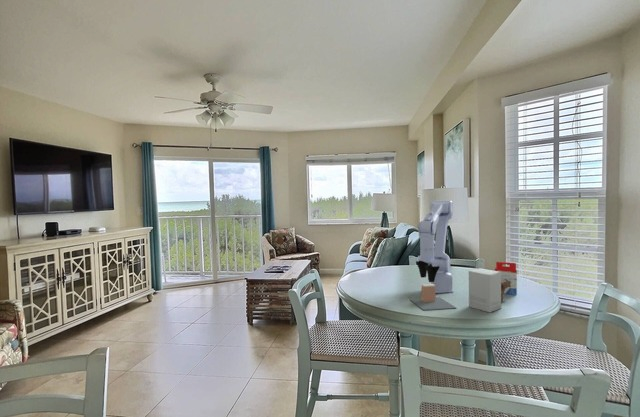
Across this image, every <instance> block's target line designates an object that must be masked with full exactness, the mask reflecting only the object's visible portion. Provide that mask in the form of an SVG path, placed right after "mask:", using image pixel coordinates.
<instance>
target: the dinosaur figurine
mask: <svg viewBox="0 0 640 417" xmlns="http://www.w3.org/2000/svg"><path fill="white" fill-rule="evenodd" d="M505 280H506V282H501V303H504V302H505V301H504V295H505V294H504V291H505V289H506V288H507V287H511V286H510V283H511V282H510V281H508V280H507V279H505Z"/></svg>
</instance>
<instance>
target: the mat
mask: <svg viewBox="0 0 640 417" xmlns="http://www.w3.org/2000/svg"><path fill="white" fill-rule="evenodd" d="M409 300H410V301H411V302H412V303H413V304H415V306H417V307H418V308H419V309H420V310H422V311H438V310H439V311H440V310H441V311H442V310H455V309H457V307H456V306H455V305H453V304H452V303H449V302H448V301H447V300H445V299H443V298H442V297H440V296H435V301H434V302H423V301H422V297H418V298H409Z"/></svg>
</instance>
